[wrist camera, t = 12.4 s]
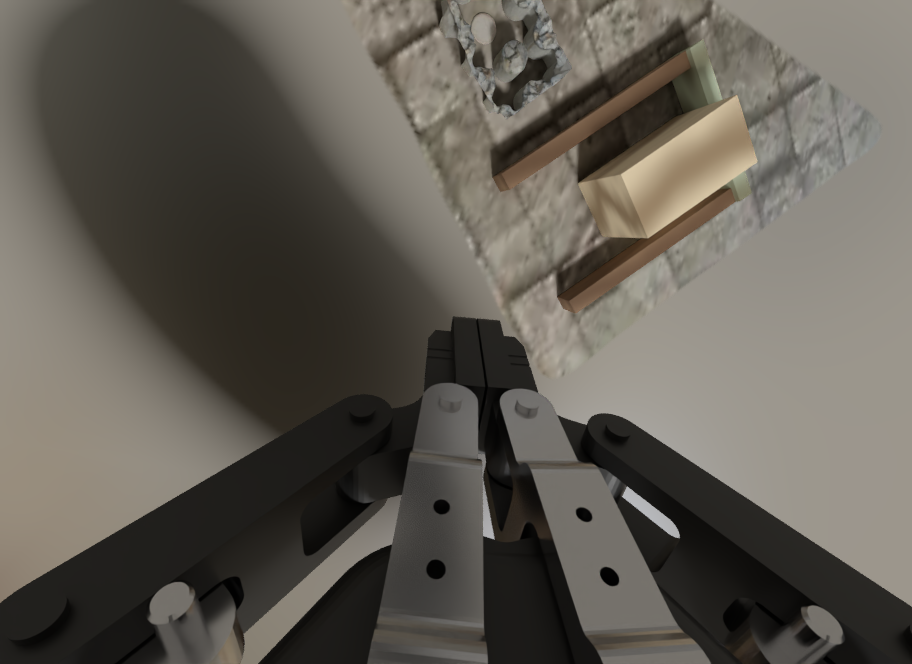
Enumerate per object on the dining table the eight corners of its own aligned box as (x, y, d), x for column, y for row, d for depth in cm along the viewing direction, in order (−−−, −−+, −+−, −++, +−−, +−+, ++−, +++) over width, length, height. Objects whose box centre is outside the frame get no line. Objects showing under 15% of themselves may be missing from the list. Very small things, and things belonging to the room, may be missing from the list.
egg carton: (424, 8, 33) (433, -22, 29) (499, -41, 34) (518, -76, 30) (489, 131, 37) (505, 120, 33) (557, 86, 37) (580, 69, 33)
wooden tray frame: (492, 177, 37) (503, 173, 34) (677, 53, 38) (703, 39, 36) (563, 308, 42) (578, 314, 39) (726, 195, 43) (751, 192, 41)
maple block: (576, 183, 39) (620, 174, 33) (674, 116, 40) (737, 94, 34) (602, 236, 41) (648, 238, 35) (694, 172, 42) (757, 161, 35)
